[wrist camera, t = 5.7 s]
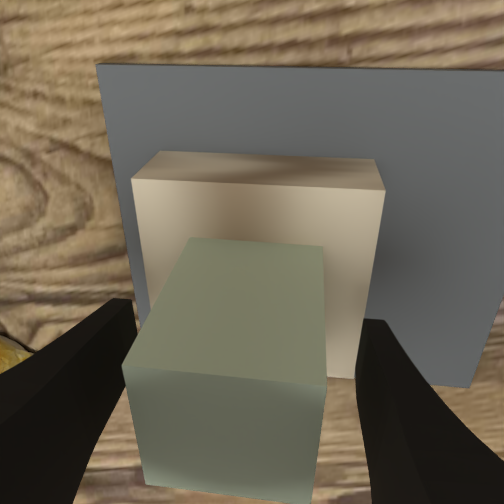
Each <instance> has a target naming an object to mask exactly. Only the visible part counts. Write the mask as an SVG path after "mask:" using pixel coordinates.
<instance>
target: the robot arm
mask: <svg viewBox="0 0 504 504" xmlns="http://www.w3.org/2000/svg"><path fill="white" fill-rule="evenodd" d="M137 335H138V333H137V328H136V322H135V317H134V311H133V305H132V300H130V299H117V298H113V299H111V300H110V301H108V302H107V303H105V304H104V305H103V306H101V307H100V308H99V309H97V310H96V311H95V312H93V313H92V314H90V315H89V316H88V317H86V318H85V319H84V320H82V321H81V322H80V323H78V324H77V325H76V326H74V327H73V328H71V329H70V330H69V331H67V332H66V333H64V334H63V335H62V336H60V337H59V338H57V339H56V340H54V341H53V342H51V343H50V344H48V345H47V346H45V347H44V348H42V349H41V350H39V351H38V352H36V353H35V354H33V355H32V356H30V357H29V358H27V359H25V360H24V361H22V362H20V363H19V364H17V365H15V366H13V367H12V368H10V369H8V370H6V371H4V372H3V373H1V374H0V504H73V501H74V498H75V496H76V493H77V490H78V487H79V485H80V482H81V480H82V477H83V474H84V472H85V469H86V467H87V464H88V462H89V459H90V457H91V454H92V452H93V450H94V447H95V445H96V443H97V441H98V439H99V437H100V435H101V433H102V431H103V429H104V427H105V425H106V423H107V421H108V419H109V417H110V416H111V414H112V412H113V410H114V408H115V406H116V404H117V402H118V400H119V398H120V396H121V394H122V392H123V390H124V388H125V386H126V384H125V379H124V375H123V370H122V364H123V362H124V360H125V358H126V356H127V354H128V352H129V350H130V349H131V347H132V345H133V343H134V341H135V339H136V337H137ZM355 380H356V399H357V406H358V412H359V418H360V424H361V429H362V435H363V441H364V447H365V453H366V459H367V464H368V470H369V478H370V485H371V497H372V504H504V461H503V460H502V459H501V458H499V457H498V456H497V455H496V454H495V453H494V452H493V451H492V450H491V449H490V448H488V447H487V446H486V445H485V444H484V443H483V442H482V441H481V440H480V439H478V438H477V437H476V436H475V435H474V434H473V433H472V432H471V431H470V430H469V429H468V428H467V427H466V426H465V425H464V424H463V423H462V422H461V420H460V419H459V418H458V417H457V416H456V415H455V414H454V413H453V412H452V411H451V410H450V409H449V407H448V406H447V405H446V404H445V403H444V402H443V401H442V399H441V398H440V397H439V396H438V395H437V393H436V392H435V391H434V390H433V388H432V387H431V386H430V385H429V383H428V382H427V381H426V380H425V378H424V377H423V376H422V374H421V373H420V372H419V370H418V369H417V367H416V366H415V365H414V363H413V362H412V361H411V359H410V358H409V356H408V355H407V353H406V352H405V350H404V349H403V347H402V346H401V344H400V343H399V341H398V340H397V338H396V336H395V335H394V333H393V332H392V330H391V328H390V327H389V325H388V323H387V322H386V321H385V320H381V319H368V318H363V323H362V329H361V335H360V341H359V347H358V353H357V359H356V365H355Z"/></svg>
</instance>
